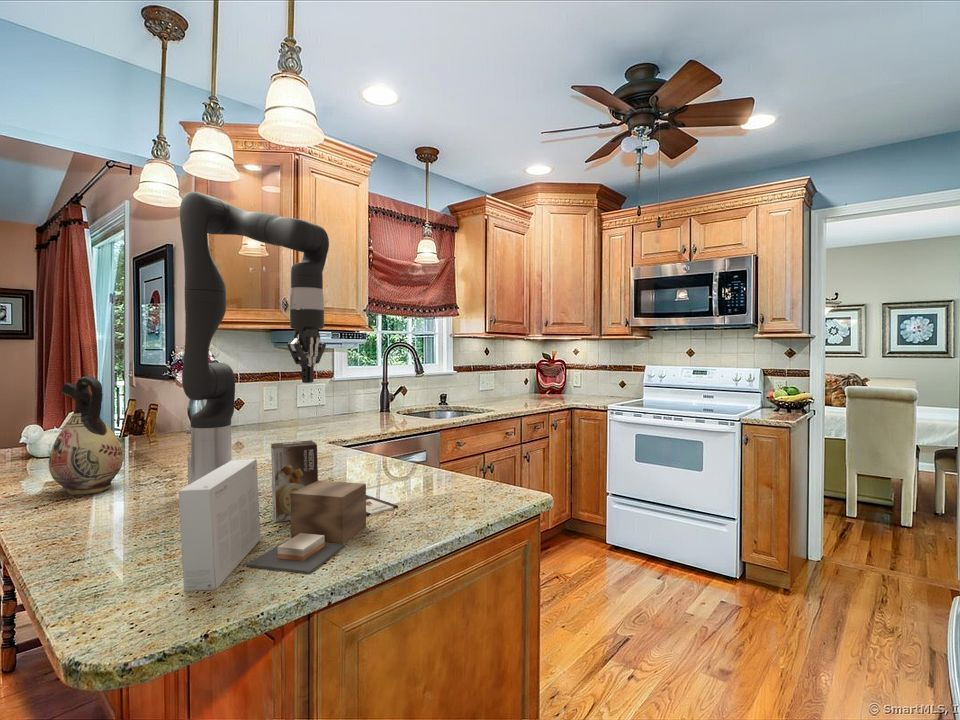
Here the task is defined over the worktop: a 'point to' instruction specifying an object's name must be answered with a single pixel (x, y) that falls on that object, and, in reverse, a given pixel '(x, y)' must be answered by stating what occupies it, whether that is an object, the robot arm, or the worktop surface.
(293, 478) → the coffee box
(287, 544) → the tile
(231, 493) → the skincare box
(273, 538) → the worktop surface
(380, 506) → the chocolate bar
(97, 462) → the ceramic jug
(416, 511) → the worktop surface
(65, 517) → the worktop surface
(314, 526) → the step
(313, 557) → the mat
